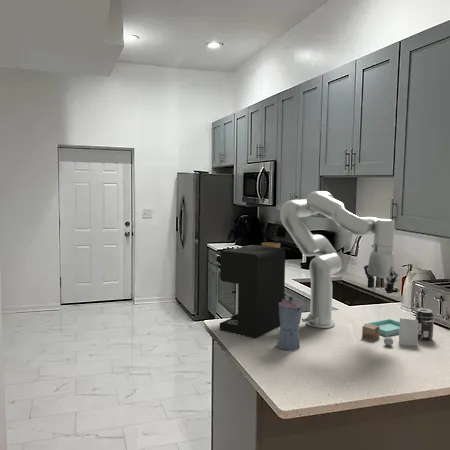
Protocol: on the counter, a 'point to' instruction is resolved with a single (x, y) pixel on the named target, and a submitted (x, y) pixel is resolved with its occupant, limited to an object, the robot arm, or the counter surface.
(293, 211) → the robot arm
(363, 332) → the walnut block
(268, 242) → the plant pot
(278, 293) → the coffee maker
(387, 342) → the grey ball
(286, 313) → the moka pot
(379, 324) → the tray
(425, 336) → the beverage can
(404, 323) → the white box
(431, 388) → the counter surface
